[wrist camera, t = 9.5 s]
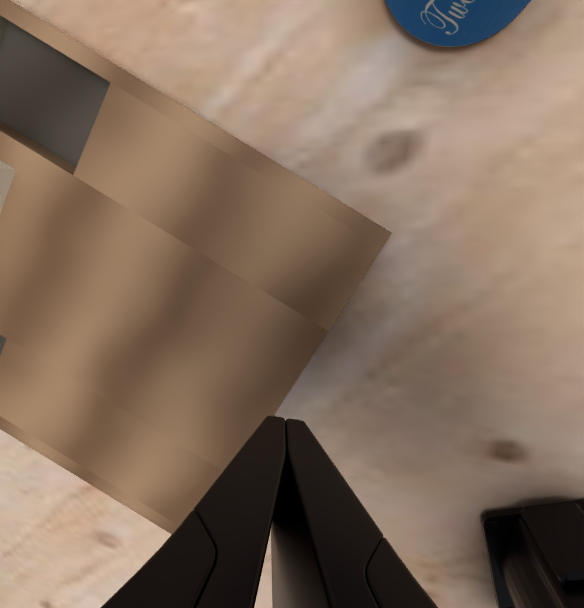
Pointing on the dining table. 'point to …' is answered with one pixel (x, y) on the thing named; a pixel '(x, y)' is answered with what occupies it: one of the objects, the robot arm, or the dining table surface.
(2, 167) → the cream block
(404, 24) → the beverage can
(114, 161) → the tray
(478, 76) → the dining table surface
